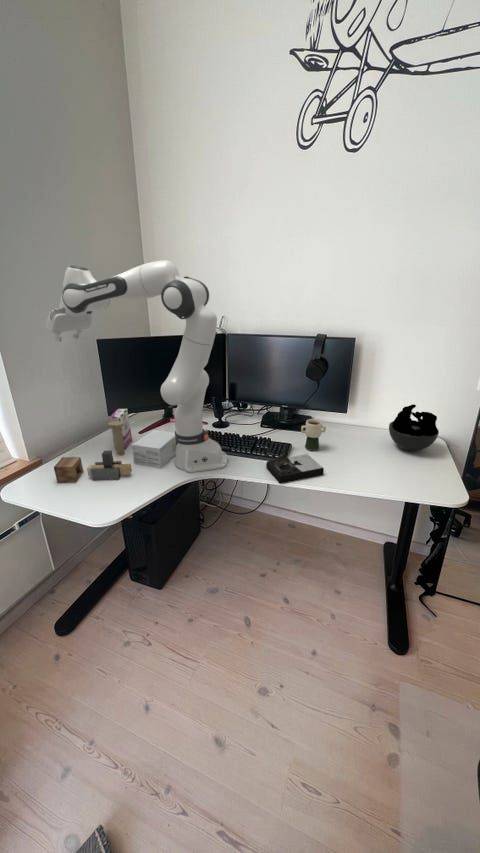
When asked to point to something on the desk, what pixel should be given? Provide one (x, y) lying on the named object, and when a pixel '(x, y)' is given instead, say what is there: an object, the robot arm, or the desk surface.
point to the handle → (117, 436)
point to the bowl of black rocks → (413, 429)
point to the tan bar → (110, 464)
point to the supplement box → (154, 449)
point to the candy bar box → (126, 431)
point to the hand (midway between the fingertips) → (67, 339)
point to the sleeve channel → (105, 472)
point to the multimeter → (294, 468)
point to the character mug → (313, 433)
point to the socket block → (68, 470)
